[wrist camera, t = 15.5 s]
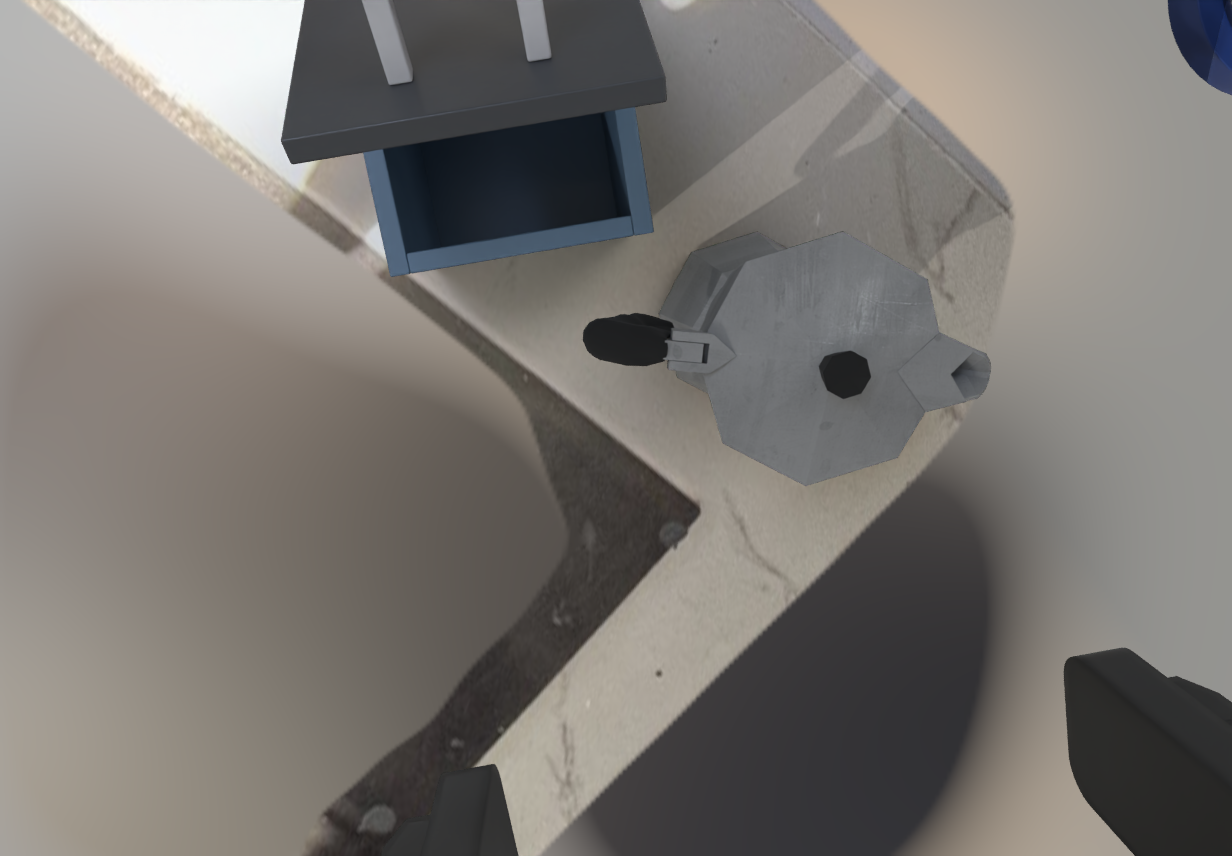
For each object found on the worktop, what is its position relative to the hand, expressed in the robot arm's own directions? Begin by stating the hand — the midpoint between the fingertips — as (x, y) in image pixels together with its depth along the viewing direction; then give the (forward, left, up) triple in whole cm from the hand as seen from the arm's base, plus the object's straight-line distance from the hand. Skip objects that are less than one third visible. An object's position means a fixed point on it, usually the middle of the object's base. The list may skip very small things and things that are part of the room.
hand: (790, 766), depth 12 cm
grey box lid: (+8, -13, -20) cm, 25 cm away
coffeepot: (-5, -3, -36) cm, 37 cm away
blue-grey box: (+7, -11, -36) cm, 38 cm away
